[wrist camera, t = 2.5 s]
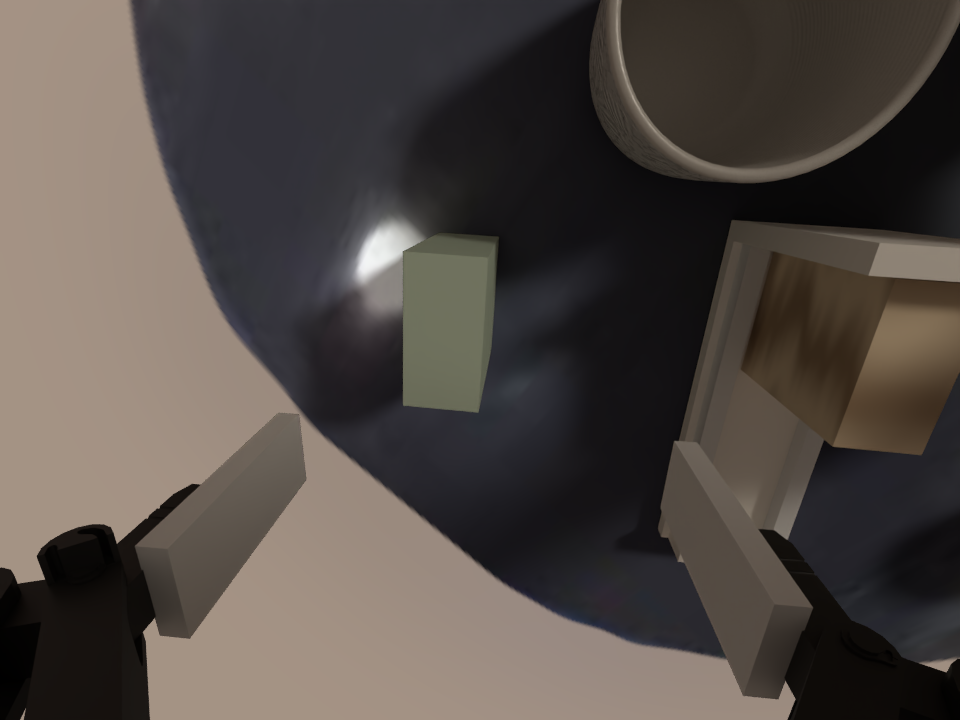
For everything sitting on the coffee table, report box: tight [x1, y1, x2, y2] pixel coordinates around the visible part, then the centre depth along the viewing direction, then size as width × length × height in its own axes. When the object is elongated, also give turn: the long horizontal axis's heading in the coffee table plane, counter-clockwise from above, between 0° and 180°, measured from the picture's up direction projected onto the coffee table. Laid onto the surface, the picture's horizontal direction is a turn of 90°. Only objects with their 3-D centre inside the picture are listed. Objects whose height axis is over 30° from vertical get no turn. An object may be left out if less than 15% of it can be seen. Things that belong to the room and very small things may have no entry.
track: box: [658, 220, 960, 562], centre depth 27 cm, size 24×9×13 cm, turn 176°
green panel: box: [403, 233, 499, 412], centre depth 28 cm, size 8×4×10 cm, turn 176°
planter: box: [589, 0, 960, 183], centre depth 22 cm, size 12×12×11 cm
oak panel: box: [741, 252, 960, 455], centre depth 25 cm, size 8×4×10 cm, turn 176°
